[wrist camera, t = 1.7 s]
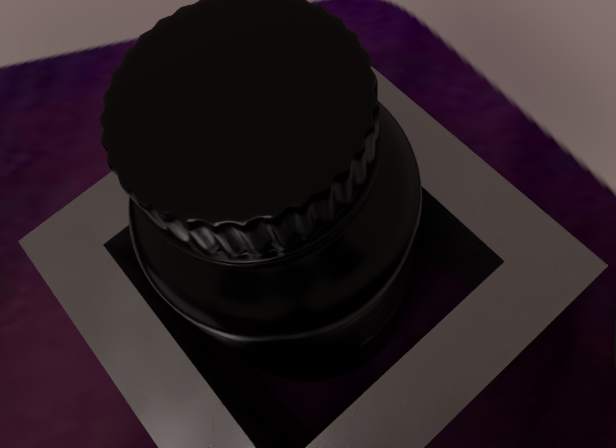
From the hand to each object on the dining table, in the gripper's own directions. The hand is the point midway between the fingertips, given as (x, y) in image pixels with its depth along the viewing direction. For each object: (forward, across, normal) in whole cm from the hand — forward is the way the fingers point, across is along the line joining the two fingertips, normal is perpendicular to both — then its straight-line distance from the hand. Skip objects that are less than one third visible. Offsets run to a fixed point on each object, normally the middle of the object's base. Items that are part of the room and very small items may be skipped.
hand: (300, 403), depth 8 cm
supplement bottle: (+12, 0, +5) cm, 13 cm away
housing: (+12, 0, +5) cm, 13 cm away
